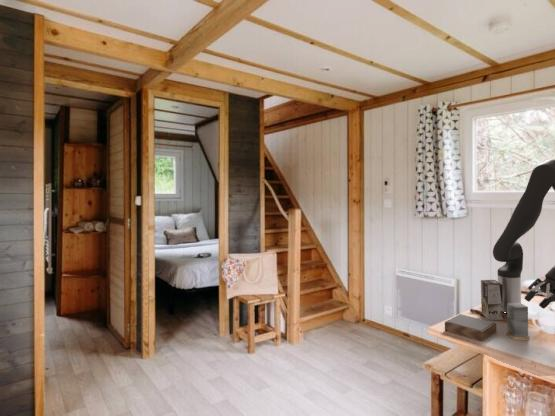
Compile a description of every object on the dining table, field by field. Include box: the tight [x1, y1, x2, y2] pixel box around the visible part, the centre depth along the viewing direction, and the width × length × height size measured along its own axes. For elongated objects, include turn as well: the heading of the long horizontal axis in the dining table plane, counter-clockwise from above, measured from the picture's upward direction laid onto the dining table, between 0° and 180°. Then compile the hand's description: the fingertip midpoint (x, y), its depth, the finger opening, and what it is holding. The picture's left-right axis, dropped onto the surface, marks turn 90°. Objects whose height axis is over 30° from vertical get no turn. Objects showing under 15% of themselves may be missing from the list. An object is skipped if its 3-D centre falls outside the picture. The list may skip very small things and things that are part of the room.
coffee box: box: [480, 279, 504, 321], centre depth 169 cm, size 9×6×16 cm
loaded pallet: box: [506, 302, 530, 341], centre depth 147 cm, size 6×6×13 cm
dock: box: [444, 313, 497, 342], centre depth 155 cm, size 15×13×4 cm
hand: (533, 303), depth 146 cm, fingers open, 8 cm apart
